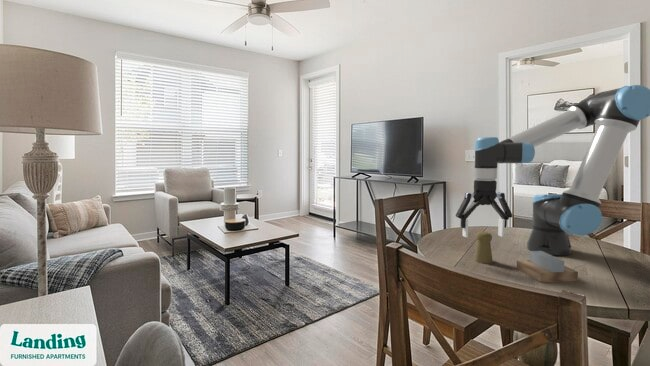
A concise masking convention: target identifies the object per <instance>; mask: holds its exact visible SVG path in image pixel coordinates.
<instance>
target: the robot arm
mask: <svg viewBox="0 0 650 366" xmlns="http://www.w3.org/2000/svg"><path fill="white" fill-rule="evenodd" d="M566 110H567V111H565V112H562V113H560V114H559V115H558V114H557V115H556V116H553V117H552V118H550V119H547V120H544V121H543V122H541V123H538V124H537V125H534V126H532V127H530V128H528V129H525V130H523V131H521V132H519V133H516V134H514V135H512V136H510V137H507V139H504V140H501V141H499V137H497V136H496V137H495V136H494V137H493V136H490V137H489V136H486V137H485V136H483V137H482V136H481V137H478V138H476V140H475V145H474V172H473V173H474V174H473V175H474V177H473V178H474V181H473V193H471V192H464V199H463V200H462V202H461V204H460V205H459V207H458V210H457V212H456V213H455V217H456V218H458V219H460V228H462V237H464V238H468V236H469V219H468V218H469V217H470V215H471V214H472V213H473V212H474V211H475V210H476V208H477V207H479V206H491V207H492V208H493V209H494V210H495V212H496V213H497V214H498V215H499V218H498V224H497V226H498V227H497V228H498V230H497V235H498V236H499V237H501V238H505V228H507V223H508V220H509V218H513V216H514V215H513V214H512V211H511V209H510V206H509V205H508V203H507V200H506V194H505V193H504V192H501V191H498V192H497V185H498V184H497V178H498V164H530V163H532V161H533V160H534V158H535V155H536V150H535V149H536V148H537V147H538V146H541V145H543V144H545V143H547V142H549V141H551V140H554V139H556V138H558V137H561V136H563V135H565V134H567V133H569V132H571V131H574V130H577V129H578V130H582V129H585V128H587V127H591V126H593V125H594V126H596V127H597V128H596V130H595V132H594V134H593V136H592V138H591V141H590V143H589V146H588V147H587V149H586V152H585V154H584V156H583V159H582V161H581V163H580V166H579V167H578V170H577V172H576V174H575V177H574V178H573V181H572V183H571V186H570V188H569V189H567V190H564V191H563V192H562V193H561V194H560V193H559V194H557V193H556V194H552V193H551V194H549V193H548V194H547V193H545V194H544V193H543V194H535V195H534V197H533V200H532V228H531V229H532V230H531V232H530V235H529V237H528V240H527V242H526V249H528V250H529V251H543V252H545V253H547V254H550V255H552V256H569V255H571V254H572V251H573V250H572V249H573V247H572V244H571V240H570V239H569V236H568V234H569V235H574V236H580V237H581V236H587V235H591V234H593V233H594V232H596V231H597V230H598V229H599V228H600V227H601V226H602V224H603V219H604V217H603V215H602V211H601V209H600V208H601V205H602V202H601V200H600V199H599V198H600V195H601V193H602V191H603V188H604V186H605V184H606V182H607V179H608V177H609V176H610V173H611V171H612V169H613V167H614V164H615V162H616V161H617V158H618V155H619V153H620V151H621V149H622V147H623V144H624V143H625V140H626V138H627V136H628V134H629V133H632V132H633V131H636V130H637V128H638V125H639V124H640V121H641V120H644V119H647V118H648V117H650V88H648V86H647V87H646V86H645V85H641V84H633V85H624V86H621V87H619V88H615V89H610V90H609V89H608V90H605V91H601V92H598V93H596V94H594V95H592V96H590V97H587V98H585V99H584V100H582V101H579V102H578V103H576V104H573V105H571V106H569V107H568V108H567V109H566ZM496 198H497V199H498V201H499V203H498V202H497V201H496V200H495V199H496ZM472 199H473V200H472ZM471 200H472V201H471ZM470 202H471V203H470ZM469 203H470V205H469ZM499 204H500V205H499ZM500 206H501V207H500Z"/></svg>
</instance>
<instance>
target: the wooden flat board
mask: <svg viewBox="0 0 650 366" xmlns="http://www.w3.org/2000/svg"><path fill="white" fill-rule="evenodd" d="M516 270H518V271H520V272H521V273H524V274H525V275H526V276H528V277H530V278H532V279H533V278H534V280H535V281H537V282H539V283H555V282H556V283H557V282H559V281H561V282H577V281H578V279H579V271H577V270H575V269H572V268H570V267H569V266H566V265H564V272H549V271H548V270H546V269H544V268H542V267H540V266H538V265H536V264H535V263H533V262H531V261H530V259H529V260H528V259H527V260H525V259H523V260H516ZM559 283H560V282H559Z"/></svg>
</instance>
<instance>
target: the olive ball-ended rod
mask: <svg viewBox="0 0 650 366" xmlns="http://www.w3.org/2000/svg"><path fill="white" fill-rule="evenodd" d="M492 239H493V235H492V233H491V232H487V231H478V232H477V233H476V240H477V246H476V251H475V257H474V261H475V262H477V263H479V264H484V265H485V264H486V265H487V264H488V265H489V264H493V262H494V261H493V254H492V247H491V246H492V245H491V241H492Z"/></svg>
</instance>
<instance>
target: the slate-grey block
mask: <svg viewBox="0 0 650 366" xmlns="http://www.w3.org/2000/svg"><path fill="white" fill-rule="evenodd" d="M529 260H530V261H531V262H533V263H535V264H536V265H538V266H540V267H542V268H544V269H546V270H548V271H549V272H564V266H565V260H563V259H560V258H559V257H557V256H555V255H550V254H547V253H545V252H543V251H531V250H529Z"/></svg>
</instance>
